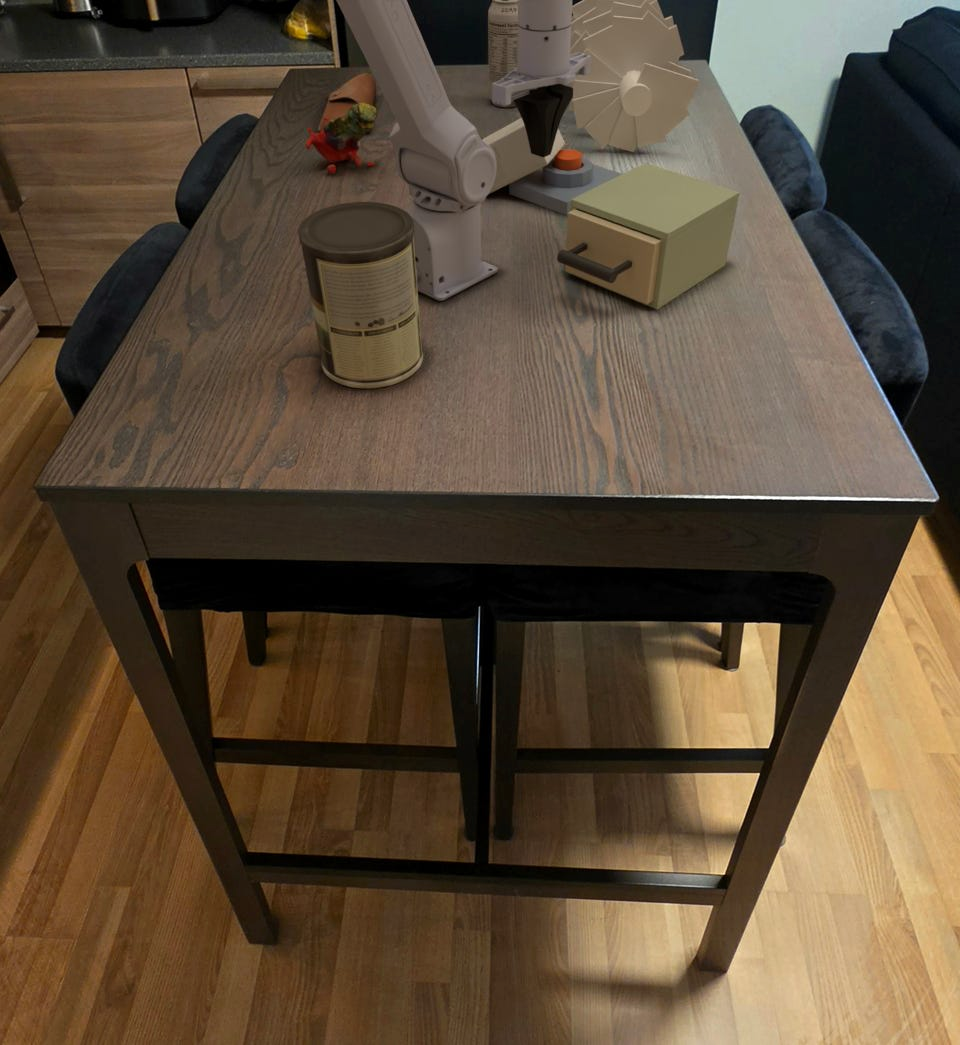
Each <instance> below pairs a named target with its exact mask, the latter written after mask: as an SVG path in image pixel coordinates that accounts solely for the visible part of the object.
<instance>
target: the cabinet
mask: <svg viewBox="0 0 960 1045" xmlns="http://www.w3.org/2000/svg"><path fill="white" fill-rule="evenodd" d="M621 174H622V175H620V176H618V177H616V178H614V179H612V180H609V181H607V182H605V183H603V184H601V185H599V186H597V187H595V188H593V189H591V190H589V191H587V192H585V193H583V194H581V195H579V196H577V197H575V198H573V199H571V209H570V211H572V210H574V209H576V210H578V211H581V212H584V213H587V212H589V213H591V214H594V215H597V216H600V217H602V218H605V219H608V220H611V221H613V222H616V223H619V224H622V225H625V226H627V227H630V228H633V229H636V230H638V231H641V232H644V233H647V234H649V235H652V236H655V237H658V238H661V239H660V240H661V247H660V254H659V262H658V269H657V276H656V283H655V291H654V298H653V301H651V302H650V303H648V304H645V303H642V302H640V301H637V300H635V299H632V298H630V297H628V296H625V295H623V294H620V293H618V292H616V291H613V290H611V289H608V288H606V287H603V286H601V285H599V284H596V283H594V282H591V281H589V280H586V279H584V278H582V277H579V276H577V275H574V274H572V273H569V272H567V271H566V273H567V274H570V275H571V276H575V277H576V278H580V279H582V280H584V281H587V282H589V283H591V284H594V285H597V286H598V287H600V288H604V289H605V290H609V291H611V292H613V293H615V294H618V295H621V296H623V297H624V298H627V299H630V300H632V301H635V302H638V303H639V304H642V305H645V306H647V307H649V308H651V309H654V310H659V309H660V308H662V307H664V306H665V305H667V304H668V303H670V302H671V301H673V300H674V299H676V298H677V297H679V296H680V295H682V294H683V293H685V292H688V290H690V289H691V288H693V287H694V286H696V285H698V284H699V283H701V282H702V281H704V280H705V279H707V278H708V277H710V276H711V275H713V274H714V273H716V272H718V271H719V270H720V269H722V268H724V267H725V266H726V265H727V259H728V254H729V249H730V243H731V240H732V233H733V229H734V224H735V218H736V213H737V208H738V203H739V197H740V192H739V191H737V190H733V189H731V188H727V187H725V186H720V185H717V184H714V183H712V182H708V181H705V180H701V179H698V178H696V177H695V178H694V177H692V176H688V175H685V174H681V173H678V172H675V171H672V170H670V169H666V168H663V167H660V166H657V165H653V164H650V163H648V162H647V163H646V162H644V163H642V164H640V165H638V166H636V167H634V168H632V169H629V170H628V171H626V172H623V173H621Z"/></svg>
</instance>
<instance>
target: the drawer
mask: <svg viewBox="0 0 960 1045" xmlns="http://www.w3.org/2000/svg"><path fill="white" fill-rule="evenodd" d="M566 219H567V222H566V239H565V249H563V248H561V249H560V250H559V252H558V254H557V255H556V261H557V262H558V263H559V264H563V265H564V272H566V273H567V272H569V273H572V274H574V275H577V276H579V277H582V278H584V279H586V280H589V281H591V282H594V283H596V284H599V285H601V286H603V287H606V288H608V289H611V290H613V291H616V292H618V293H620V294H623V295H625V296H628V297H630V298H632V299H635V300H637V301H640V302H642V303H645V304H648V303H650V302H651V301H653V298H654V291H655V283H656V276H657V269H658V262H659V254H660V247H661V240H660V239H661V238H658V237H655V236H652V235H649V234H647V233H644V232H641V231H638V230H636V229H633V228H630V227H627V226H625V225H622V224H619V223H616V222H613V221H611V220H608V219H605V218H602V217H600V216H597V215H594V214H591V213H589V212H587V213H584V212H581V211H578V210H576V209H574V210H572V211H570V212H568V215H567V218H566ZM569 273H568V274H569ZM572 274H571V275H572ZM574 275H573V276H574ZM577 276H576V277H577ZM579 277H578V278H579ZM582 278H581V279H582ZM584 279H583V280H584ZM586 280H585V281H586ZM589 281H588V282H589ZM591 282H590V283H591ZM594 283H593V284H594ZM596 284H595V285H596ZM601 286H600V287H601ZM603 287H602V288H603ZM606 288H605V289H606ZM608 289H607V290H608ZM611 290H610V291H611ZM613 291H612V292H613ZM618 293H617V294H618ZM620 294H619V295H620ZM623 295H622V296H623ZM625 296H624V297H625ZM628 297H627V298H628ZM630 298H629V299H630ZM632 299H631V300H632ZM635 300H634V301H635ZM637 301H636V302H637ZM640 302H639V303H640ZM642 303H641V304H642Z"/></svg>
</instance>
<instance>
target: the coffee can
mask: <svg viewBox="0 0 960 1045" xmlns="http://www.w3.org/2000/svg"><path fill="white" fill-rule="evenodd" d="M406 211H407V210H404V209H403V208H400V207H398V206H396V205H392V204H388V203H383V202H377V201H376V202H375V201H352V202H344V203H339V204H334V205H331V206H330V205H329V206H328V207H324V208H322V209H319V210H316V211H315V212H312V213H311V214H309V215H308V216H306V217H305V218H304V219H303V220H302V221H301V222H300V224H299V226H298V229H297V234H298V240H299V244H300V245H301V250H302V256H303V262H304V266H305V272H306V278H307V285H308V289H309V294H310V300H311V301H310V302H311V307H312V312H313V318H314V324H315V330H316V336H317V341H318V347H319V353H320V358H321V360H320V361H321V368H322V371H323V372H324V374H325V376H327V377H328V378H329V379H330V380H331V381H333V382H335V383H337V384H339V385H342V386H345V387H348V388H353V389H355V388H356V389H379V388H385V387H389V386H392V385H396V384H399V383H401V382H403V381H405V380H407V379H408V378H410V377H412V376H413V375H414V374H415V373H416V372H417V371H418V370H419V369H420V367H421V366H422V363H423V361H424V352H423V345H422V333H421V321H420V320H421V319H420V318H421V317H420V307H419V294H418V293H419V291H418V290H417V278H416V265H415V251H414V238H413V234H414V221H413V219H412V217H411V216H410V215H409V214H408V213H407V212H406Z"/></svg>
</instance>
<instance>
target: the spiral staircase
mask: <svg viewBox="0 0 960 1045" xmlns="http://www.w3.org/2000/svg"><path fill="white" fill-rule="evenodd" d="M660 6H661V5H660V3H659V1H658V0H580V1H579V2H577V3H575V4H574V5H573V4H572V20H571V40H570V55H571V54H575V53H582V54H586V55H590V56H591V67H590V74H588V75H581V74H580V75H577V76H575V81H574V82H571V83H569V84H564V85H565V86H569V87H572V88H573V98H572V99H571V101H570V103H569V106H568V107H569V108H568V111H569V112H573V113H574V120H575V125H576V126H575V127H576V129H577V130H580V129H583V128H584V130H585V131H586V132H587V134H589V135H590V137H591V138H592V139H593V140H594V141H595V142H596V144H597V145H598V146H599V147H600V149H604V148H605V147H606V146H607V145H608V146H610V147H614V148H617V149H621V150H623V151H624V150H625V151H628V152H631V153H635V151H636V148H643V147H646V146H650V145H653V144H658V143H662V142H666V141H667V136H666V135H668V134H669V133H670V132H671V131H673V129H675V128H676V127H677V126H678V125H680V123H682V122H683V121H684V120H685V119H686V118H687V117H688V116H690V112H689V111H688V107H689V105H690V103H691V102H692V98H693V97H694V94H695V92H696V89H697V87H698V86H699V85H698V84H699V83H700V80H699V78H695V77H692V76H690V74H691V72H692V71H691V69H688V68H685V67H683V66H681V65H679V64H678V63H679V61H680V57H682V56H684V55H685V52H684V47H683V44H682V41H681V36H680V33H679V32H680V31H679V29H678V25H677V24H675V23H674V17H673V15H670V16H668V17H664V14H663V12H662V9H661V7H660Z"/></svg>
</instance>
